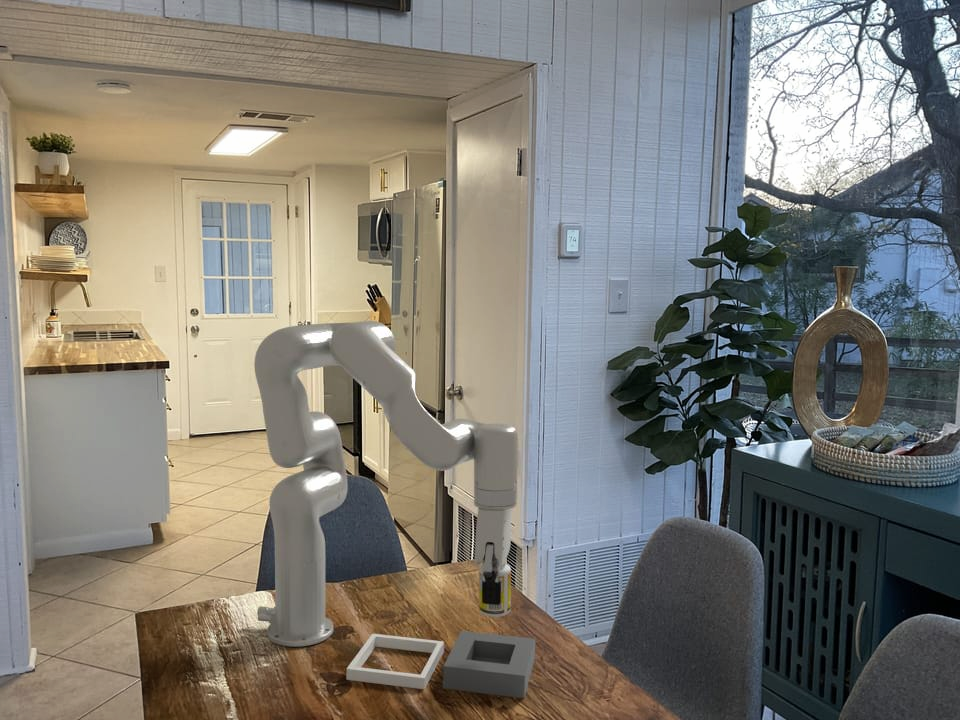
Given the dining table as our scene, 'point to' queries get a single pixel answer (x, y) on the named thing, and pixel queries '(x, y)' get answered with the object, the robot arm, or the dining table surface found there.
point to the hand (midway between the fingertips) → (494, 595)
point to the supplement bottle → (505, 592)
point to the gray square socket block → (490, 664)
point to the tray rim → (392, 677)
